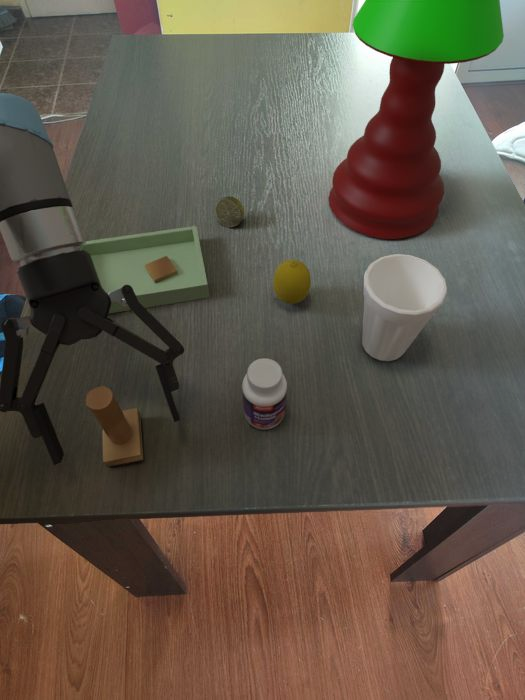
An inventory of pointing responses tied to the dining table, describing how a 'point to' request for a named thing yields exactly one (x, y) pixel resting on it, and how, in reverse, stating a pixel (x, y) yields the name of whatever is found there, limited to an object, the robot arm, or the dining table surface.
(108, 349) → the dining table surface
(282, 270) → the lemon
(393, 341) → the cup
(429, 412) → the dining table surface
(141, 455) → the cylinder on block base
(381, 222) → the table lamp
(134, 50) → the dining table surface
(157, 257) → the tray
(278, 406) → the pill bottle
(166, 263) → the flat brown square tile
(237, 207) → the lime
